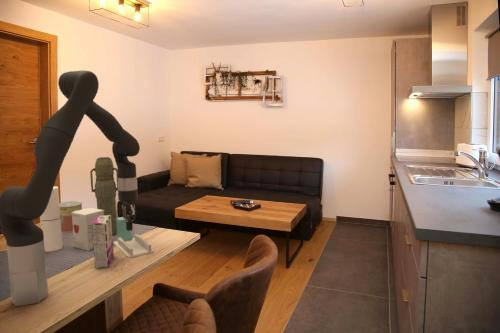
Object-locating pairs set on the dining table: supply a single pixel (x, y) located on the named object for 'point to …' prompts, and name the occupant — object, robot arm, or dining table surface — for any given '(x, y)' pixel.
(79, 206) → the canned food
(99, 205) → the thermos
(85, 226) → the supplement box
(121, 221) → the block
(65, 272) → the dining table surface
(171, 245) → the dining table surface
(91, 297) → the dining table surface
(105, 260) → the candy bar box
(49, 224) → the cylindrical container
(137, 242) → the chute
